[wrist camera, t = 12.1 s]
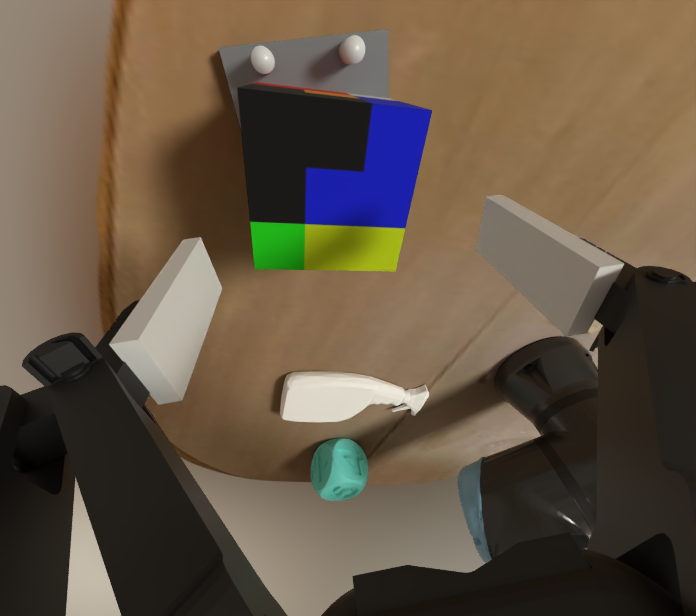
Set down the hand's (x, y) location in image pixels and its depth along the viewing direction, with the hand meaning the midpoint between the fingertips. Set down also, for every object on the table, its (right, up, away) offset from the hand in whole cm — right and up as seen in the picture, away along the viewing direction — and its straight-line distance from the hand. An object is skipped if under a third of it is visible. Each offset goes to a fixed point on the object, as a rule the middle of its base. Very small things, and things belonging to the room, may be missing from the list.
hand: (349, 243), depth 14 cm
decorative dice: (-2, -31, +46) cm, 55 cm away
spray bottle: (+1, -17, +36) cm, 40 cm away
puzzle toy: (-2, +10, +12) cm, 16 cm away
